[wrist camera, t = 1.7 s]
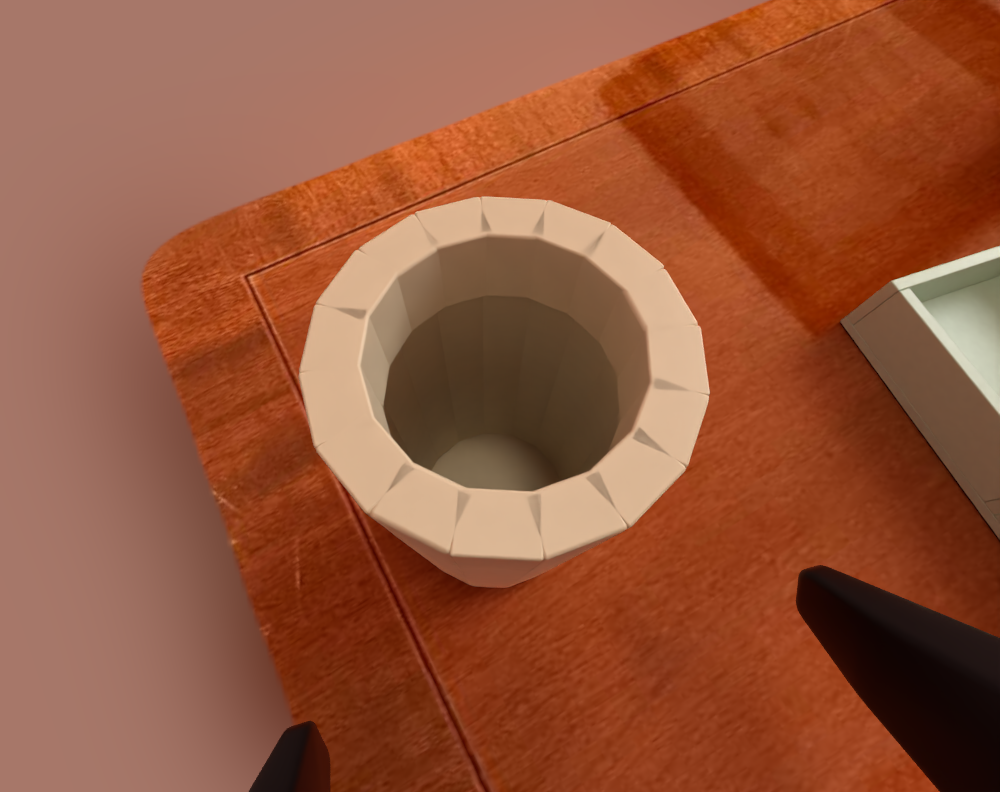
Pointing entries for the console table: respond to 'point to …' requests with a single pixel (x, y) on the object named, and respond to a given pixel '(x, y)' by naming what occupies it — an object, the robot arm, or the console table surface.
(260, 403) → the console table surface
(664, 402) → the jar
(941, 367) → the tray
